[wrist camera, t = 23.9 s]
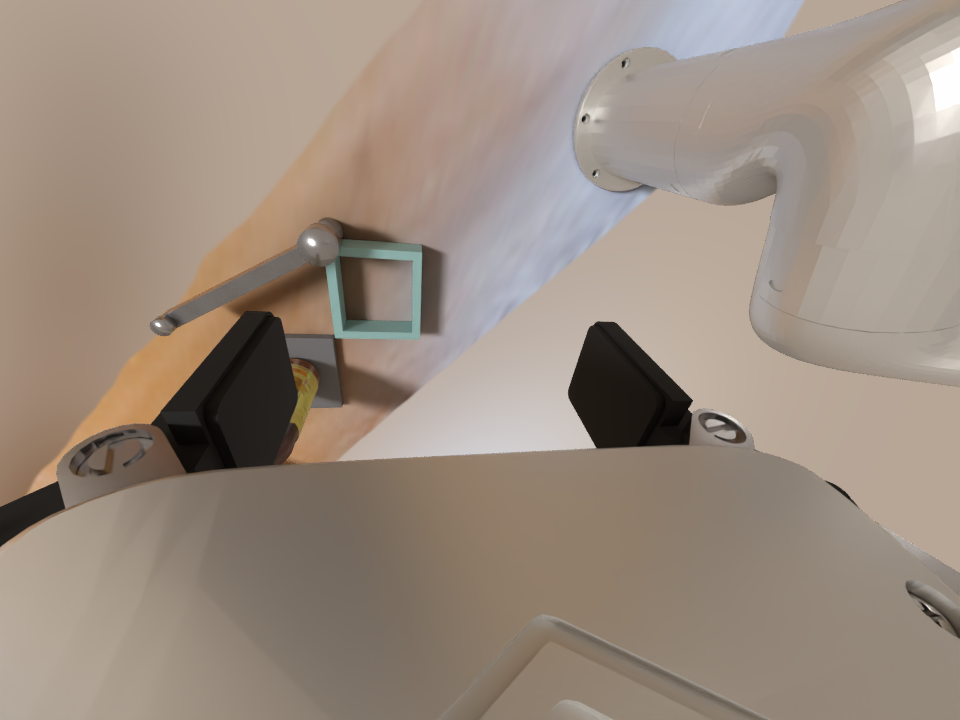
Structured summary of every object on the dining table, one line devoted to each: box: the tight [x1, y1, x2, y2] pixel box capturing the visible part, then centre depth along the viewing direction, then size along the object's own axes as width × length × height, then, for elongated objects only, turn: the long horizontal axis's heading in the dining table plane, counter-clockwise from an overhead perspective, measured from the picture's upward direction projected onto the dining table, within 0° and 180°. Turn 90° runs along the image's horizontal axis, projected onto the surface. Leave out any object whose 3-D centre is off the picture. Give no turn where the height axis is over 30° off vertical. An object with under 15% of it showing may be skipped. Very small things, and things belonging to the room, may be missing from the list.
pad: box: [284, 334, 343, 408], centre depth 48 cm, size 12×12×1 cm
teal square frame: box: [318, 218, 422, 340], centre depth 41 cm, size 12×14×4 cm
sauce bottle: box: [273, 358, 320, 465], centre depth 39 cm, size 7×6×20 cm
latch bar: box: [150, 223, 341, 336], centre depth 35 cm, size 4×21×3 cm, turn 113°
